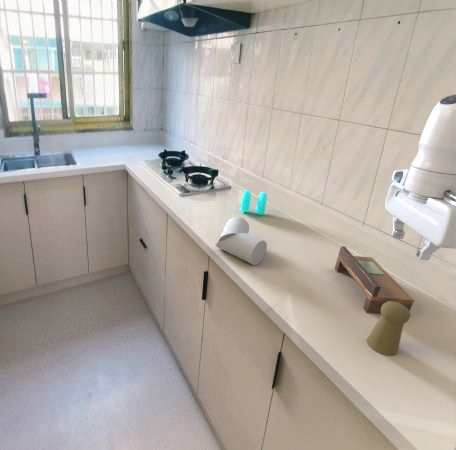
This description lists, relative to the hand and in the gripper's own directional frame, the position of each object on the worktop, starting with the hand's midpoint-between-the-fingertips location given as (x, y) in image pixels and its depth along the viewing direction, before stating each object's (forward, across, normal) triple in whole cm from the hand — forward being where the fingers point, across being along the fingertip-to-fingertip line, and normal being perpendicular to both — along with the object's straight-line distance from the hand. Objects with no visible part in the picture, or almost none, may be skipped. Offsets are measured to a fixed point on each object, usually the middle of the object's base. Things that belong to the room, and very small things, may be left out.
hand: (408, 247), depth 70 cm
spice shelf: (+23, +19, -6) cm, 30 cm away
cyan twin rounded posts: (+23, +74, +18) cm, 79 cm away
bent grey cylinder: (+23, +38, +28) cm, 52 cm away
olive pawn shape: (+23, -4, 0) cm, 24 cm away
